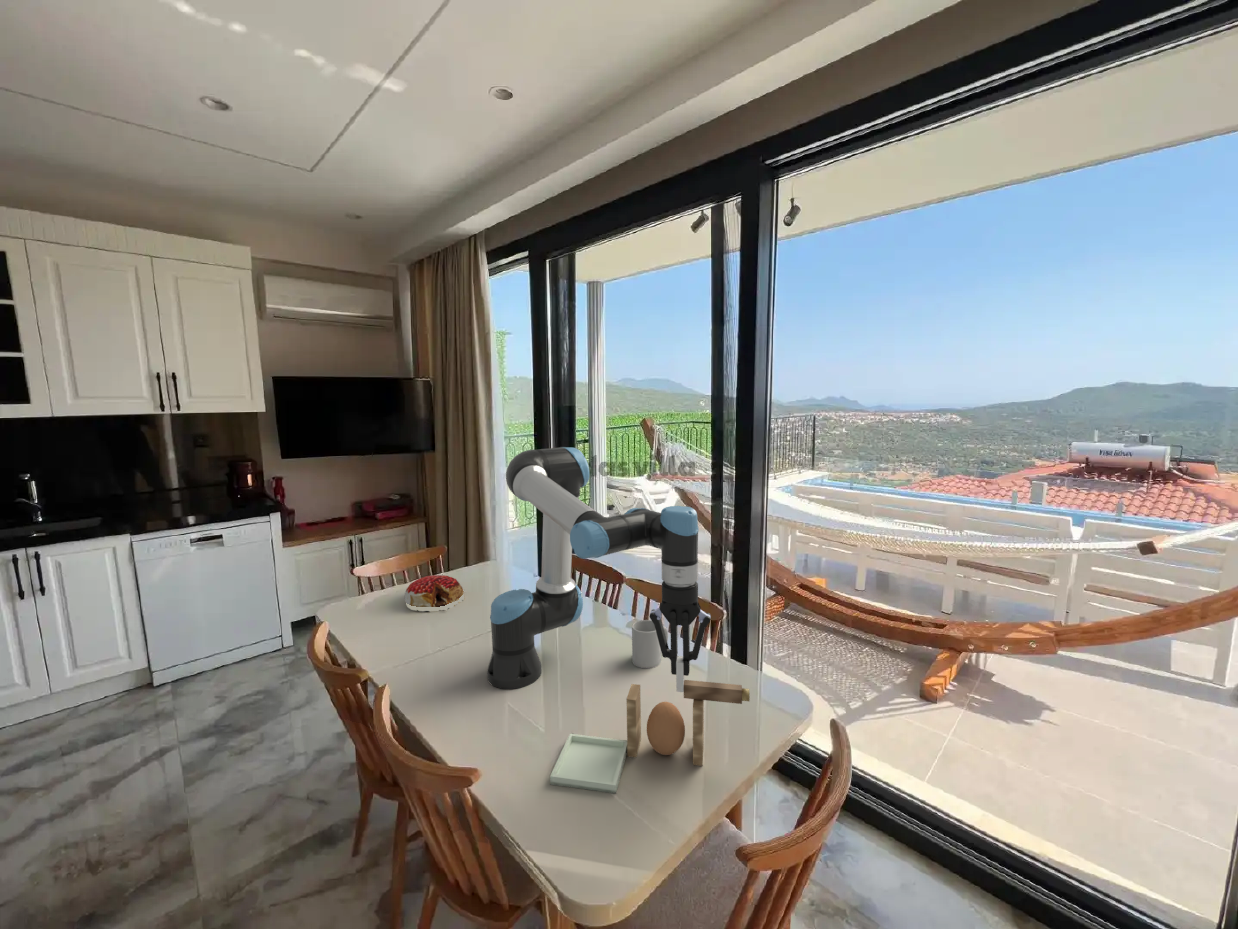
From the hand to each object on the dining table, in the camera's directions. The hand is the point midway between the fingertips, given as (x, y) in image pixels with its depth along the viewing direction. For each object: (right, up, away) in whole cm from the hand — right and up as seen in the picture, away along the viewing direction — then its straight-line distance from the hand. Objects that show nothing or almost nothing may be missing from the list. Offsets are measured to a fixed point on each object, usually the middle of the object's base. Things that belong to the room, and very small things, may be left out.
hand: (680, 688), depth 108 cm
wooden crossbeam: (+7, -2, -1) cm, 8 cm away
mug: (-4, -11, +43) cm, 44 cm away
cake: (-84, -7, +90) cm, 123 cm away
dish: (-19, -16, -1) cm, 25 cm away
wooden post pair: (-3, -15, +3) cm, 16 cm away
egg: (-3, -15, +3) cm, 16 cm away
